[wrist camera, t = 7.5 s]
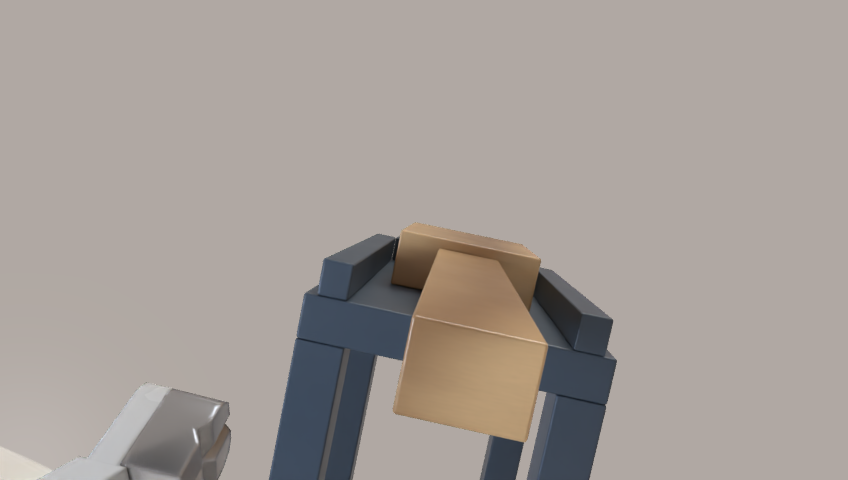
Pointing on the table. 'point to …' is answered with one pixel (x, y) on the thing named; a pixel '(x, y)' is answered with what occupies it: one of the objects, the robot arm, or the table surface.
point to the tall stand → (386, 336)
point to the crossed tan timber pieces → (469, 332)
